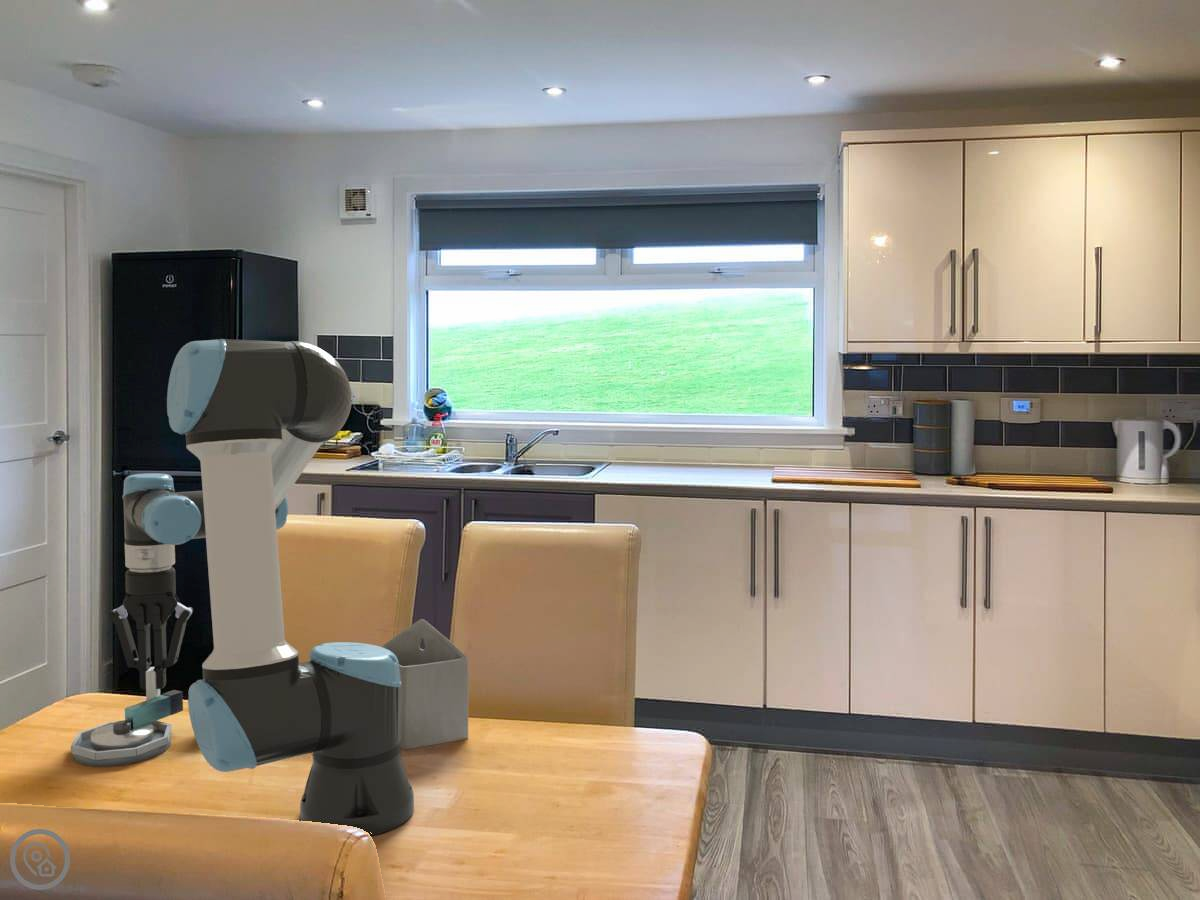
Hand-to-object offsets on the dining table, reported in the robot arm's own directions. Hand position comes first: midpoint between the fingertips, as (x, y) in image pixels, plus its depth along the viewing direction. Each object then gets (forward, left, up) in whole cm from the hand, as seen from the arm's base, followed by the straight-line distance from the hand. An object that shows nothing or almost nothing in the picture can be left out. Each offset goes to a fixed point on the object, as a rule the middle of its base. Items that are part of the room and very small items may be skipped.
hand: (153, 707), depth 168 cm
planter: (-41, -17, -4) cm, 44 cm away
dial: (-2, +5, -2) cm, 6 cm away
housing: (-3, +8, -4) cm, 9 cm away
